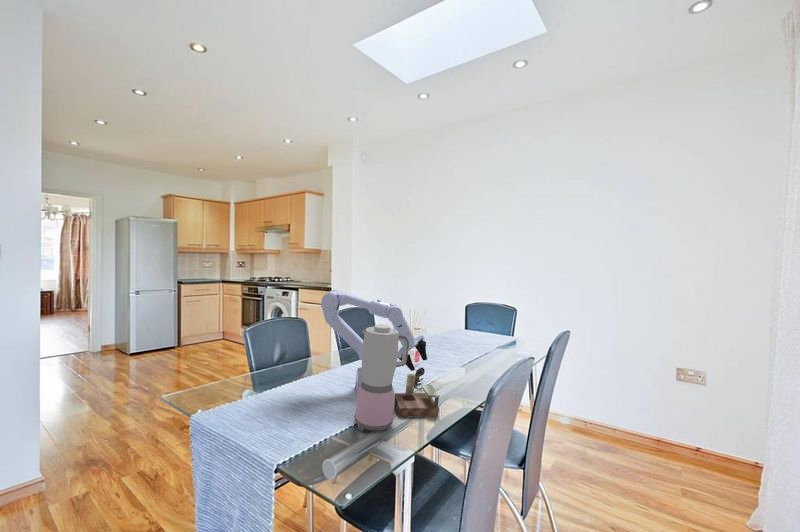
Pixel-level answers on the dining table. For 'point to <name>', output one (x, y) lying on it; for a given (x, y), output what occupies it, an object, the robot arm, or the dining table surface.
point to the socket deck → (418, 403)
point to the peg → (410, 383)
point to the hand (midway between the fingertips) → (419, 364)
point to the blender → (379, 377)
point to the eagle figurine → (418, 374)
